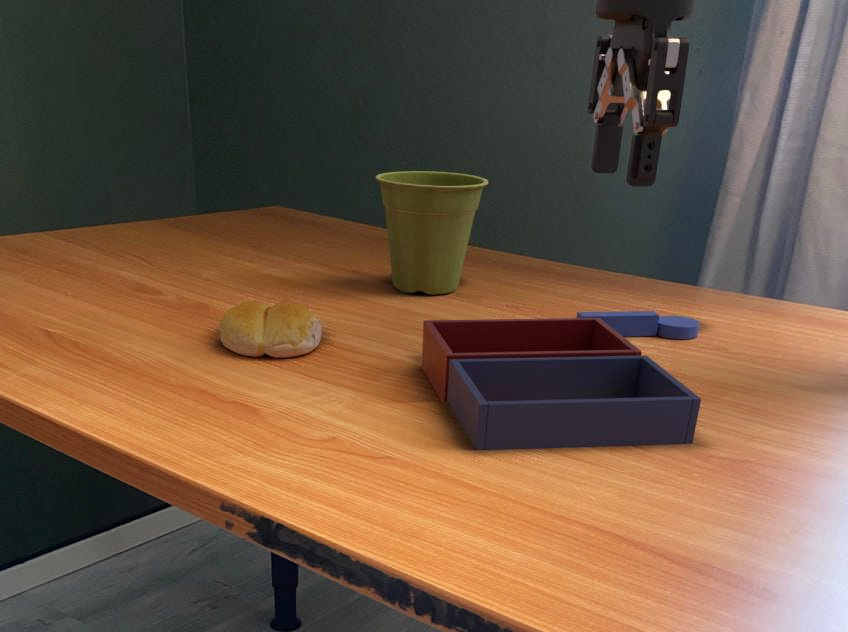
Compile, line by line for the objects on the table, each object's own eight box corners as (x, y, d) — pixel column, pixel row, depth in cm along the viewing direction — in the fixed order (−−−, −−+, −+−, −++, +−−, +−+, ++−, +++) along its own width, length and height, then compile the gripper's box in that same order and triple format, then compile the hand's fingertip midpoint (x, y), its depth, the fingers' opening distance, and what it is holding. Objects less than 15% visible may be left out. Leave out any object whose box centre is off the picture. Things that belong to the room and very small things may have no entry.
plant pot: (446, 306, 103) (453, 189, 97) (352, 290, 109) (353, 178, 103) (499, 286, 111) (508, 177, 106) (409, 272, 117) (413, 167, 111)
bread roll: (234, 332, 93) (232, 288, 91) (327, 338, 92) (327, 293, 90) (206, 356, 87) (203, 309, 84) (306, 363, 85) (306, 316, 83)
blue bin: (638, 406, 77) (647, 355, 75) (690, 455, 68) (701, 398, 66) (446, 411, 75) (449, 359, 73) (475, 462, 67) (479, 404, 65)
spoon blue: (583, 341, 93) (586, 319, 92) (570, 329, 96) (572, 308, 95) (704, 339, 94) (709, 317, 93) (687, 327, 98) (691, 306, 96)
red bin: (593, 364, 86) (599, 317, 84) (634, 402, 78) (642, 351, 76) (421, 367, 85) (423, 320, 83) (443, 407, 76) (446, 355, 74)
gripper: (741, -58, 70) (697, 191, 79) (662, -47, 82) (632, 168, 91) (640, -61, 69) (607, 191, 78) (575, -49, 81) (553, 168, 90)
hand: (620, 178), depth 84 cm, fingers open, 8 cm apart
